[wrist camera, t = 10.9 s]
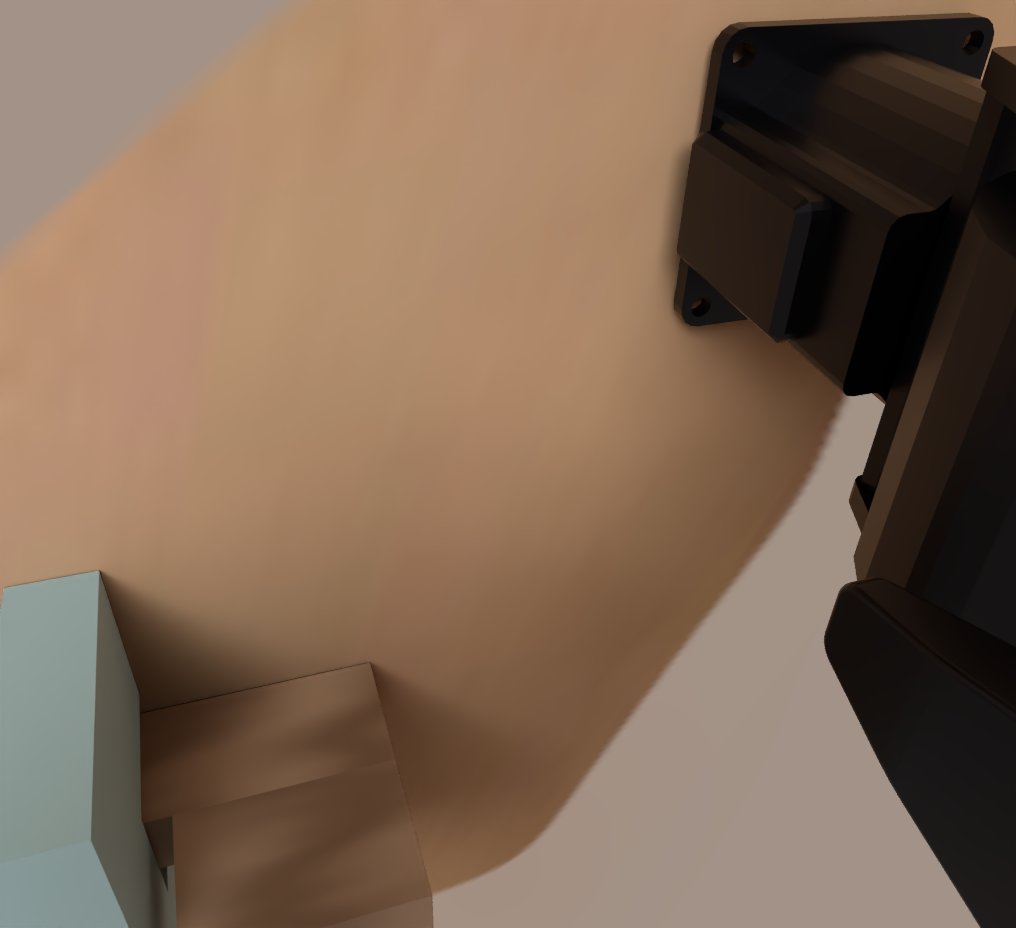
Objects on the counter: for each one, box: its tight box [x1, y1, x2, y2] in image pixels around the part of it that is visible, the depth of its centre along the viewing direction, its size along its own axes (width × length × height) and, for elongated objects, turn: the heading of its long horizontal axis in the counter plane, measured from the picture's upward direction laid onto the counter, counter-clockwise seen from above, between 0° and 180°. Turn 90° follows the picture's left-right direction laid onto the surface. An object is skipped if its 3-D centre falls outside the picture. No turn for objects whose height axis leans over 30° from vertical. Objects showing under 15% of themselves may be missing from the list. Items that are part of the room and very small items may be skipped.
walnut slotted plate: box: [140, 663, 433, 928], centre depth 22 cm, size 14×2×7 cm, turn 88°
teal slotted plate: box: [0, 571, 177, 928], centre depth 22 cm, size 12×2×7 cm, turn 178°
